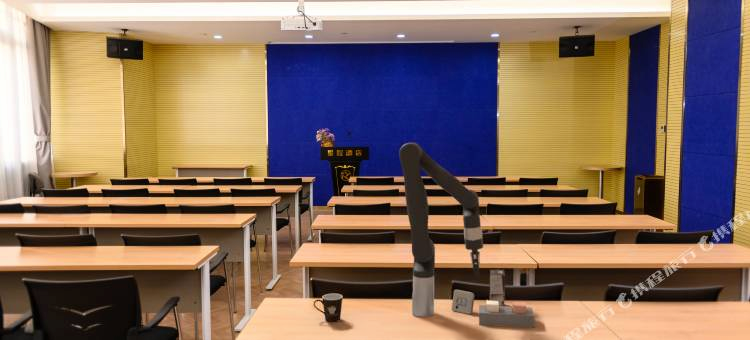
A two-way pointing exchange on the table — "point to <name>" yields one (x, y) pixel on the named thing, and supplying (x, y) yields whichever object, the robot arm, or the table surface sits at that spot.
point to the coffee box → (497, 286)
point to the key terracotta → (519, 307)
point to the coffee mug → (331, 307)
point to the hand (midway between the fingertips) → (477, 274)
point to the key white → (492, 306)
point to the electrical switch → (463, 301)
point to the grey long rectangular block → (506, 317)
